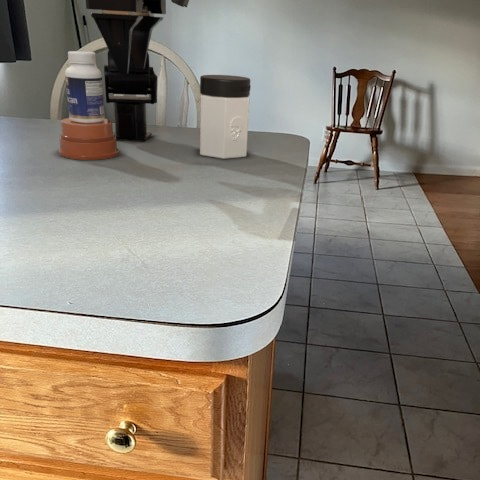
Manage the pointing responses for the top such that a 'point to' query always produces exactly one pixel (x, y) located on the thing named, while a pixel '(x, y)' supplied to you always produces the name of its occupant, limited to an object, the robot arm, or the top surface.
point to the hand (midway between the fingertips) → (132, 71)
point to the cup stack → (87, 140)
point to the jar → (224, 116)
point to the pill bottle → (84, 88)
